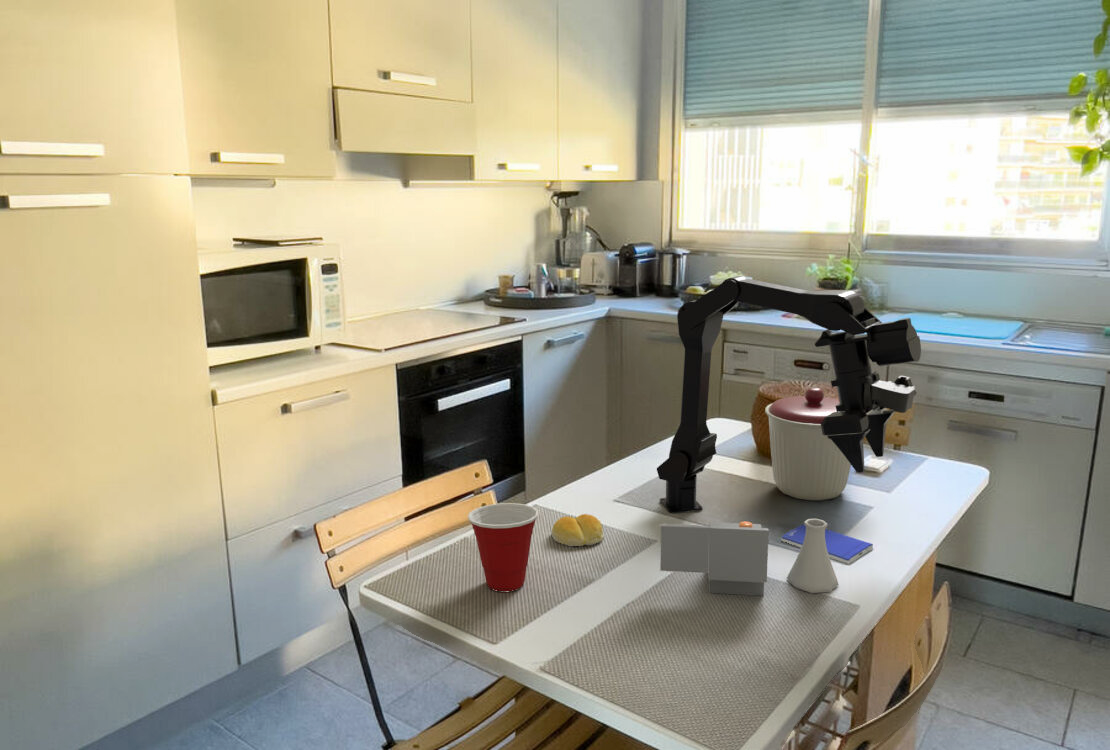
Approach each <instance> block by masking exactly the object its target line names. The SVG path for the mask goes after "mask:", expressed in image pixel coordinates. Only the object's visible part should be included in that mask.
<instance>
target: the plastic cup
mask: <svg viewBox="0 0 1110 750" xmlns="http://www.w3.org/2000/svg"><path fill="white" fill-rule="evenodd" d="M538 516H539V510H538V509H537V508H535V507H534V506H532V505H528V504H524V503H516V502H515V503H514V502H508V503H507V502H504V503H503V502H502V503H500V502H499V503H494V504H486V505H482V506H481V507H480V506H479V507H476V508H475V509H473V510H471V511H469V513H468V515H467V519H468V521H469V522H470V523H471V526H472V529H473V532H474V535H475V539H476V544H477V548H478V552H479V553H478V554H479V557H480V562H481V565H482V566H481V567H482V568H483V573H484V578H485V582H486V584H487V587H488V586H489V587H488V589H490V588H491V589H494V590H497V591H512V590H516V589H518V588H520V587H521V586H522V585H523V584H524V585H525V581H526V572H527V567H528V565H529V564H528V562H529V556H530V551H531V550H530V549H531V542H532V535H533V531H534V527H535V523H536V521H537V519H538ZM524 585H523V586H524ZM523 586H522V587H523ZM522 587H521V588H522ZM521 588H520V589H521ZM491 589H490V590H491ZM518 590H519V589H518ZM516 591H517V590H516ZM512 592H513V591H512Z"/></svg>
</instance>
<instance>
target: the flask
mask: <svg viewBox="0 0 1110 750" xmlns="http://www.w3.org/2000/svg"><path fill="white" fill-rule="evenodd" d="M803 524H804V525H805V526H806V534H805V538H804V542H803V545H802V548H800V550H799V553H798V554H797V557H796V559H795V560H794V562H793V564H792V567H791V569H790V571H789V573H788V574H787V577H786V579H787V580H788V582H789V583H790V584H791V585H792V586H793V587H794V588H796V589H799V590H802V591H805V592H808V593H811V594H815V593H826V592H827V593H829V592H831V591H833V590H834V589H835V588H837V587H838V586H839V581H838V579H837V575H836V573H835V570H834V567H833V564H832V561H831V558H830V557H829V554H828V551H827V548H826V541H825V529H827V527H828V522H826V521H825V520H822V519H820V518H819V519H818V518H808V519H806V520H805V521H803Z"/></svg>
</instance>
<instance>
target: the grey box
mask: <svg viewBox="0 0 1110 750" xmlns="http://www.w3.org/2000/svg"><path fill="white" fill-rule="evenodd" d="M708 526H709V530H710V526H723V527H748V528H763V527H762V524H759V523H752V522H750V521H745V520H744V521H740V522H719V521H717V522H716V521H715V522H714V521H708ZM708 572H709V553H708ZM707 580H708V591H709V592H708V593H709V594H724V595H725V594H726V595H727V594H728V595H744V596H746V595H748V596H761V597H764V591H765V583H766V582H749V581H730V580H710V579H708V578H707Z"/></svg>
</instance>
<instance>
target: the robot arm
mask: <svg viewBox="0 0 1110 750" xmlns="http://www.w3.org/2000/svg"><path fill="white" fill-rule="evenodd" d="M739 303H742V304H747V305H751V306H752V305H753V306H756V307H760V308H761V307H762V308H765V309H770V310H774V311H780V312H785V313H789V314H792V315H797V316H799V317H801V318H802V317H803V318H804V319H805V320H807V321H809V322H810V323H812V324H814V325H816V326H818V327H821V328H824V329H825V330H823V331H822V332H821V335H820V337H819V338H818V339H817V341H816V342H814V346H815V347H816V348H819V347H825V346H828V349H829V354H830V360H831V366H832V369H833V370H832V371H833V376H834V379H832V380H830V385H831V387H832V388H833V387H834V388H836V391H837V397H838V400H839V402H840V403H839V404H838V405H836V411H837V412H833V413H831V414H829V415H828V416H826V417H825V418H824V419H823V421H822V422H821V428H822V433H823V435H827V437H828V439H831V440H832V441H833V442H834V443H835V445H836V446H837V447H838V448H839V449H840V451H841V452H842V453H843V454H844V456H845V457H846V459H847V460H848V461H849V463H850V464H851V467H852V468H853V470H854V471H855V472H856V473H859V474H860V473H864V472H865V455H864V454H865V453H864V451H865V450H864V439H865V438H866V441H867V442H868V445H869V446H870V449H871V450H872V453H873V454H874V455H875V457H877V458H880V457H881V458H882V457H883V456H884V451H885V440H886V430H887V423H888V421H889V420H890V418H892V417H893V415H894V414H895V413H896V412H897V413H900V414H901V413H902V414H904V413H907V412H908V410H909V409H912V407H913V403H914V397H915V396H917V393H918V392H917V390H916V386H915V385H913V382H912V379H911V377H910V376H905V375H899V376H898V377H897V378H896V379H895V380H894V381H892V380H888V381H884V380H881V379H880V375H879V373H878V372H877V371H876V370H872V363H876V365H878V367H885V366H893V365H894V366H895V365H901V364H908V363H909V364H910V363H918V362H919V361H920V358H921V354H922V353H921V352H922V347H921V346H922V345H921V339H920V336H919V335H918V333H917V330H916V328H915V327H914V325H913V324H912V319H911V318H910V317H905V318H901V319H898V320H894V321H888V322H887V321H886V322H882V321H880V319H878V317H876V315H875V314H874V313H872V312H871V311H870V310H869V309H868V308H867V307H866V306H865V304H864V300H863V299H862V298H861V296H860V294H858V293H857V292H855V291H854V290H844V289H843V290H839V289H829V290H828V289H827V290H826V289H825V290H807V289H802V288H801V289H800V288H796V287H792V286H786V285H782V284H777V283H776V284H775V283H771V282H768V281H767V282H765V281H762V280H761V281H760V280H756V279H753V278H752V279H751V278H748V277H745V276H743V275H736V276H733V277H729V278H726V279H725V280H723V281H722V282H721V283H720V284H718V285H717V286H716V287H715V288H713V289H712V290H710V291H708V292H706V293H705V294H704V295H702V296H700V297H699V298H697V299H694V300H691V301H688V302H685V303H684V304H682V305H681V307H679V308H678V310H677V314H676V315H677V316H676V319H677V329H678V330H677V331H678V336H679V339H680V340H681V343H682V346H683V347H684V355H683V357H684V358H683V372H682V373H683V375H682V386H681V387H682V389H681V390H682V391H681V405H680V418H679V419H680V420H679V426H678V427H677V429H676V431H675V434H674V436H673V438H672V440H671V444H670V449H669V453H668V458H667V459H666V460H664V461H663V462H662V463H661V464H660V465H659V466H658V467H656V472H657V476H658V478H659V480H663V481H665V497H663V498H659V502H660V503H661V504H662V506H663V507H664V509H666V510H667V512H668V513H669V514H677V513H685V512H694V511H696V512H697V511H702V510H703V506H702V505H701V504H700V503H699V501H697V483H698V482H697V481H698V480H697V478H698V477H697V475H698V474H699V473H702V472H703V471H704V469H705V467H706V465H708V464H709V463H710V462H712V460H713V457H714V455H716V454H717V449H716V443H717V439H718V438H717V437H718V434H717V433H713V432H712V433H711V432H710V429H709V428H708V424H707V421H708V420H707V418H708V417H707V416H708V402H709V390H710V377H711V376H710V375H711V374H710V373H711V363H712V360H711V359H712V350H713V347H714V345H715V343H716V341H717V338H718V337H719V334H720V331H721V327H722V323H723V319H724V316H725V315H727V313H729V312H730V311H731V310H733V308H735V307H736V306H737V305H739ZM832 331H833V332H832ZM837 331H838V332H837ZM839 331H841V332H839ZM871 362H872V363H871ZM841 411H842V412H841Z"/></svg>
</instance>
